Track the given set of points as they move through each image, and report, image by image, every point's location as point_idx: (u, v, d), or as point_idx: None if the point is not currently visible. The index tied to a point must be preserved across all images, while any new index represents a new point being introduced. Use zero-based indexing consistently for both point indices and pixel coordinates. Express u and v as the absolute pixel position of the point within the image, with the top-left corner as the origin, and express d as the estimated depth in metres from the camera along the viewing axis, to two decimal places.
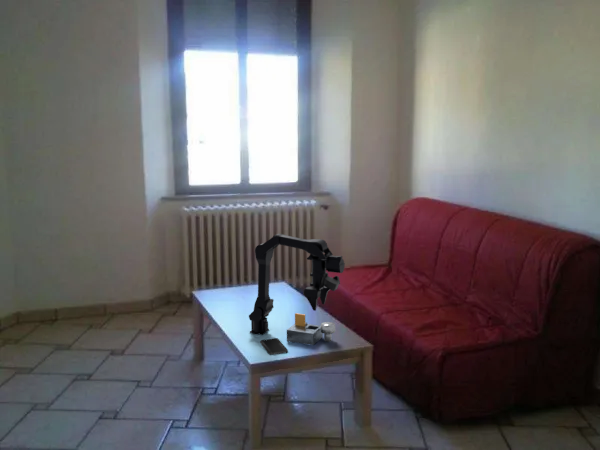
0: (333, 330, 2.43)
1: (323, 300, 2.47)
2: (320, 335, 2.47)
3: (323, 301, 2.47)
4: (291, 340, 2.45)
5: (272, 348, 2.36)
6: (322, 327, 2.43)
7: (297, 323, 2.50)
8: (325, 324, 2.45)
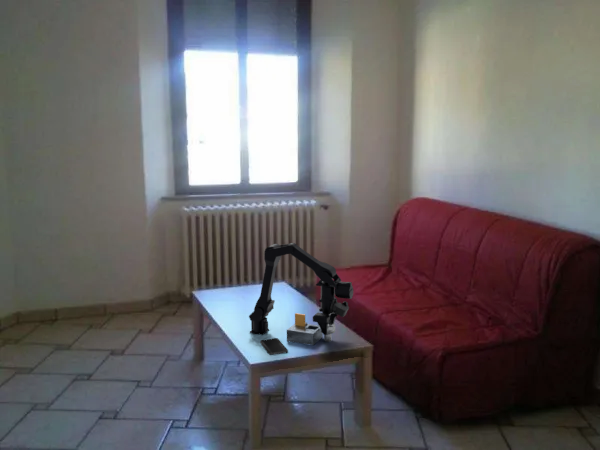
0: (333, 330, 2.43)
1: None
2: (320, 335, 2.47)
3: None
4: (291, 340, 2.45)
5: (272, 348, 2.36)
6: None
7: (297, 323, 2.50)
8: None
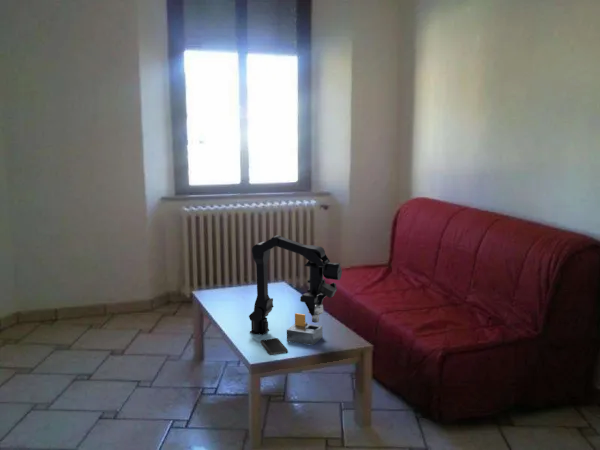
0: (321, 311, 2.43)
1: None
2: (320, 335, 2.47)
3: None
4: (291, 340, 2.45)
5: (272, 348, 2.36)
6: None
7: (297, 323, 2.50)
8: None
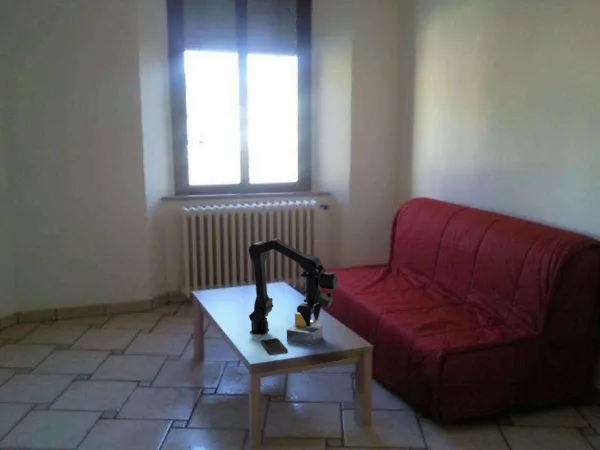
0: (318, 326, 2.45)
1: (316, 316, 2.50)
2: (320, 335, 2.47)
3: (316, 317, 2.50)
4: (291, 340, 2.45)
5: (272, 348, 2.36)
6: None
7: (297, 323, 2.50)
8: None
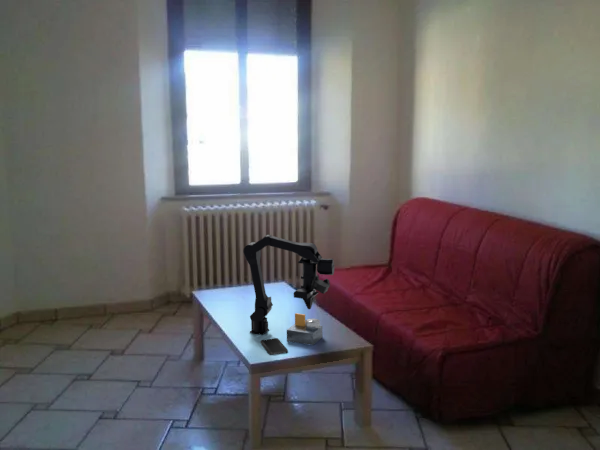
0: (318, 326, 2.45)
1: None
2: (320, 335, 2.47)
3: None
4: (291, 340, 2.45)
5: (272, 348, 2.36)
6: (307, 323, 2.45)
7: (297, 323, 2.50)
8: (310, 320, 2.46)
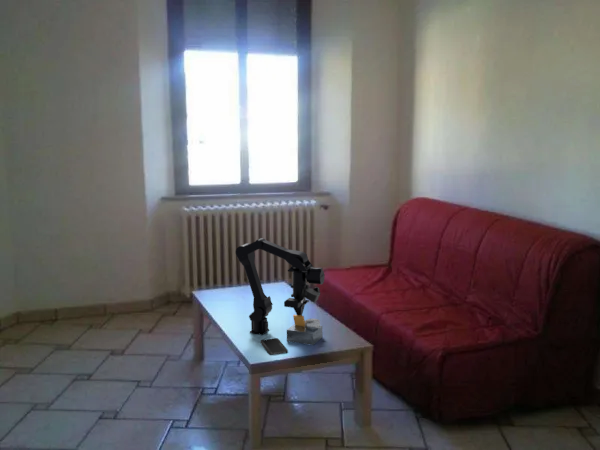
0: (318, 326, 2.45)
1: None
2: (320, 335, 2.47)
3: None
4: (291, 340, 2.45)
5: (272, 348, 2.36)
6: (307, 323, 2.45)
7: (297, 323, 2.50)
8: (310, 320, 2.46)
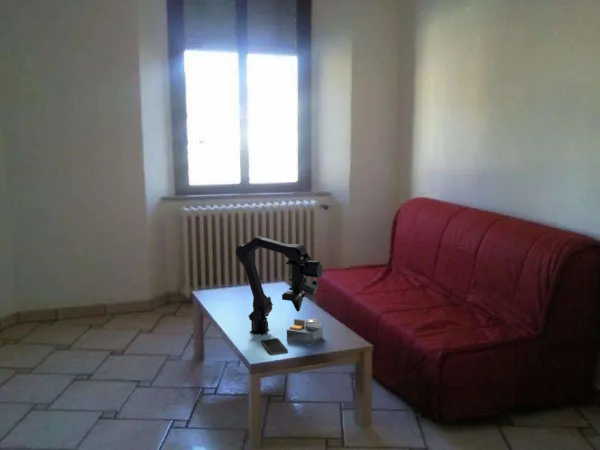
0: (318, 326, 2.45)
1: None
2: (320, 335, 2.47)
3: None
4: (291, 340, 2.45)
5: (272, 348, 2.36)
6: (307, 323, 2.45)
7: None
8: (310, 320, 2.46)
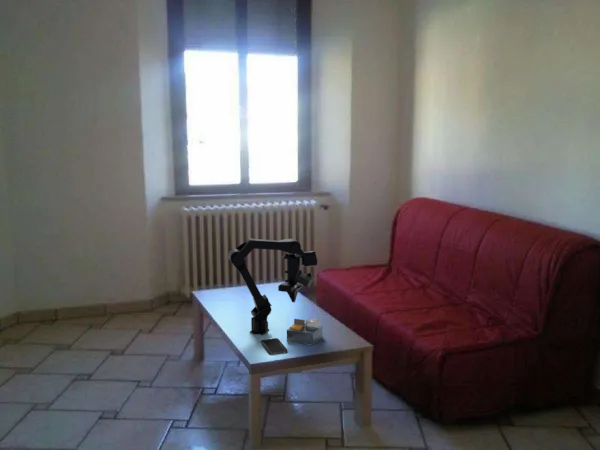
0: (318, 326, 2.45)
1: None
2: (320, 335, 2.47)
3: None
4: (291, 340, 2.45)
5: (272, 348, 2.36)
6: (307, 323, 2.45)
7: None
8: (310, 320, 2.46)
